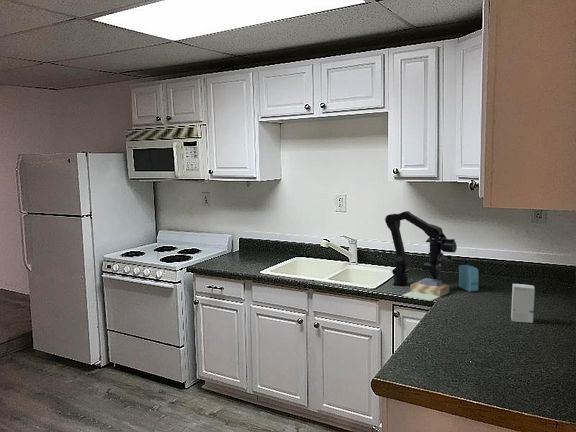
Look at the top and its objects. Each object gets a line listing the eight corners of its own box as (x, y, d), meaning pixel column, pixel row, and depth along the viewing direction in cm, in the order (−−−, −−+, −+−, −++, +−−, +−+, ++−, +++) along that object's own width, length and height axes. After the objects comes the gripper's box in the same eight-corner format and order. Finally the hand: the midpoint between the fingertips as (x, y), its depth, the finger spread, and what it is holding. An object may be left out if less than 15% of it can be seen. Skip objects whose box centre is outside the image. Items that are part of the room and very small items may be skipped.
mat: (401, 295, 247) (401, 295, 247) (410, 292, 254) (410, 291, 254) (431, 300, 237) (431, 300, 237) (439, 296, 243) (439, 296, 243)
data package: (478, 291, 251) (478, 268, 250) (470, 292, 250) (470, 269, 249) (466, 286, 263) (466, 264, 262) (458, 286, 262) (458, 264, 261)
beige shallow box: (410, 292, 254) (410, 284, 254) (420, 287, 262) (420, 280, 262) (439, 296, 243) (439, 289, 243) (449, 292, 251) (449, 284, 251)
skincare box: (511, 321, 203) (512, 286, 201) (510, 317, 208) (511, 283, 207) (534, 323, 200) (535, 287, 198) (532, 319, 205) (533, 284, 204)
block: (420, 284, 254) (420, 280, 254) (425, 281, 259) (425, 278, 258) (436, 286, 248) (436, 282, 248) (441, 284, 253) (441, 280, 252)
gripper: (442, 255, 243) (442, 286, 245) (457, 249, 257) (457, 279, 258) (421, 253, 250) (421, 283, 252) (437, 247, 264) (437, 276, 266)
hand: (435, 280), depth 257 cm, fingers closed
